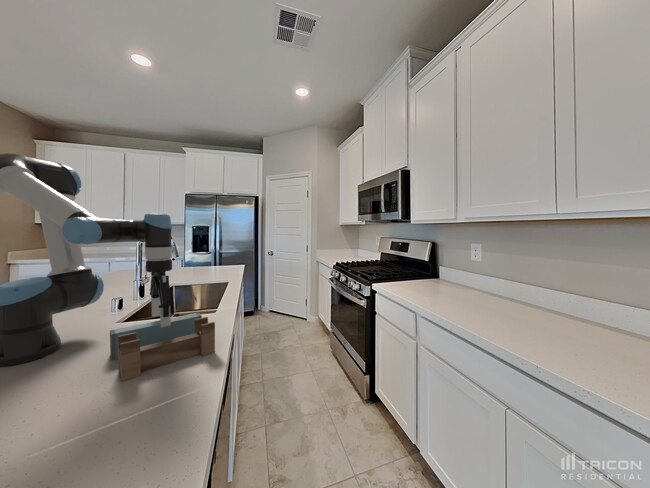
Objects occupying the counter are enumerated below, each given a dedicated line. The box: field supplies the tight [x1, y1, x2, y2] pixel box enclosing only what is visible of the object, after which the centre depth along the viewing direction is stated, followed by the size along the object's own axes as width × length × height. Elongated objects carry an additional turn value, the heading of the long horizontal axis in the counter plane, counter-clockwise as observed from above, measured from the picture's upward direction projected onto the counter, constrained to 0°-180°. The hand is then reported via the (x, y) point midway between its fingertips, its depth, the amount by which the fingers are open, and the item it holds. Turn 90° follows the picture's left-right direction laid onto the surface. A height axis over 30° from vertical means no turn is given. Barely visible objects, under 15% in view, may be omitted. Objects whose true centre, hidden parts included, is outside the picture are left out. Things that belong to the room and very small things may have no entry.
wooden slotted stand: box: [118, 316, 216, 382], centre depth 77 cm, size 7×24×10 cm, turn 134°
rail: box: [109, 312, 203, 361], centre depth 87 cm, size 4×26×8 cm, turn 134°
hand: (160, 320), depth 87 cm, fingers open, 13 cm apart
